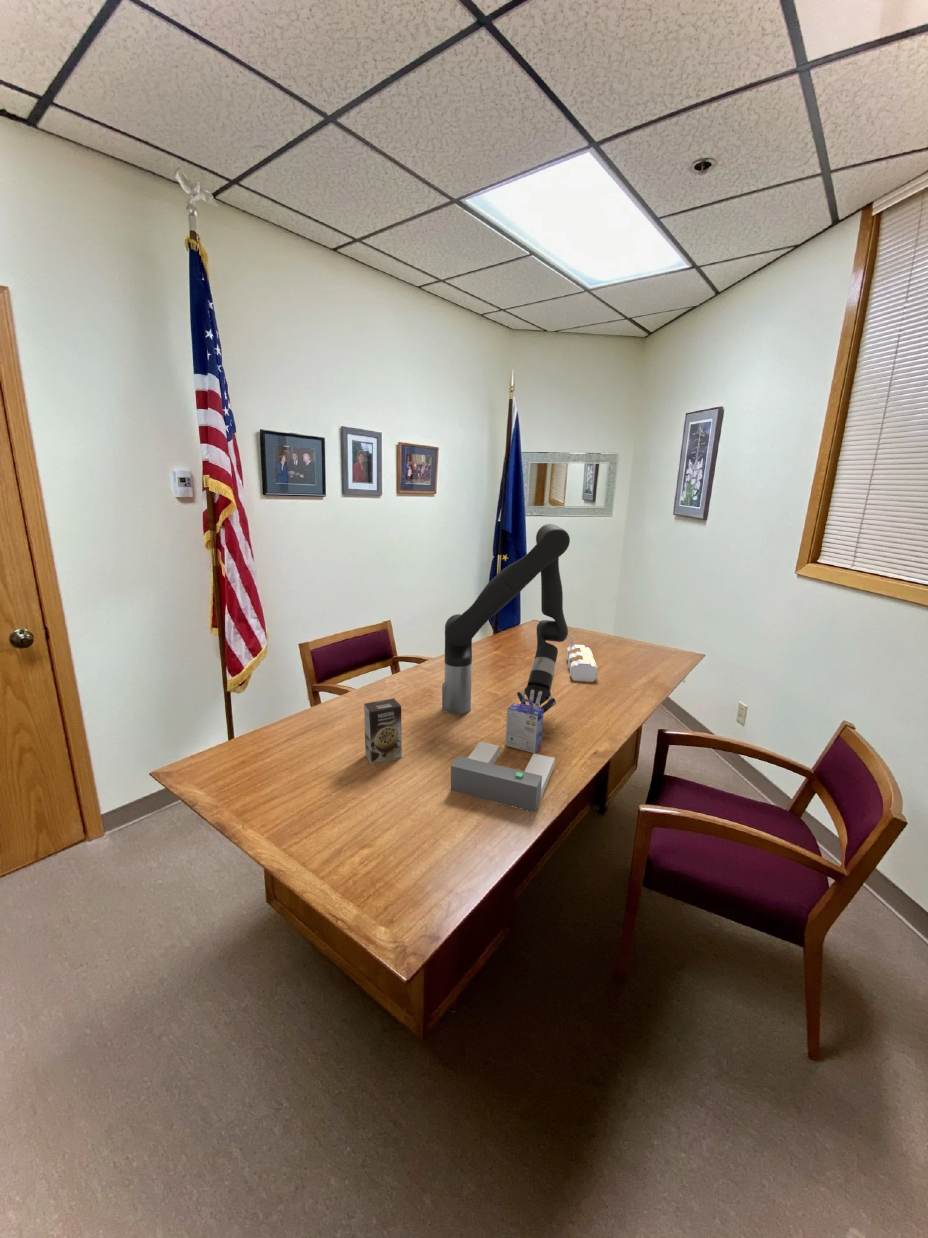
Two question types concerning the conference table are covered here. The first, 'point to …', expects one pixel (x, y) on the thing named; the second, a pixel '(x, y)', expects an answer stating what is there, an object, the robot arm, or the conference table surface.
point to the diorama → (582, 664)
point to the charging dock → (501, 778)
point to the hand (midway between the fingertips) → (530, 724)
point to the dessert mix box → (383, 731)
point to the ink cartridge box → (524, 726)
